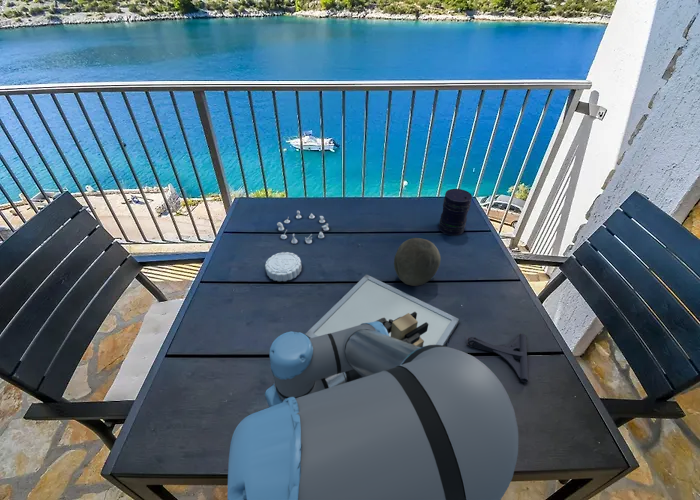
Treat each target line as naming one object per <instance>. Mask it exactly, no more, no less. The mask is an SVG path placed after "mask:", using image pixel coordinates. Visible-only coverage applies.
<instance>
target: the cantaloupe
mask: <svg viewBox="0 0 700 500" xmlns="http://www.w3.org/2000/svg"><path fill="white" fill-rule="evenodd" d="M441 259H442V258H441V253H440V251H439V249H438V248H437V246H436V245H435V243H433V242H432V241H431V240H429V239H425V238H422V237H421V238H420V237H412V238H409V239H407V240H404V241H403V242H402V243H400V244H399V246H398V248H397V250H396V252H395V255H394V259H393V267H394V270H395V274H396V275H397V277H398V279H399V280H400V281H401V282H402V283H403V284H405V285H407V286H411V287H417V286H418V287H419V286H422V285H424V284H426V283H428V282H429V281H431V280H432V279H433V277H434V276H435V275H436V274H437V272H438V270H439V268H440V265H441V261H442V260H441Z"/></svg>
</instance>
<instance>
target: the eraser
mask: <svg viewBox="0 0 700 500" xmlns="http://www.w3.org/2000/svg"><path fill="white" fill-rule="evenodd" d="M417 324H418V321H417V320H416V319H415V318H414V317H412V316H411V315H410V314H409V313H408V314H406V315H404V316H402V317H401V318H399V319H397V320H395V321H393V322H392V329H391V337H393V338H396V339H398V340H402V339H405V334H407V333H409V332H410V331H412V330H414V329H416V328H417ZM423 343H424V340H423V339H422V338H421V337H420V339H419V340H418V341H417V342H415V343H414V344H413V345H415V346H418V347H423Z"/></svg>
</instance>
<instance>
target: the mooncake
mask: <svg viewBox="0 0 700 500" xmlns="http://www.w3.org/2000/svg"><path fill="white" fill-rule="evenodd" d="M264 268H265V273H266V276H267V277H269V279H271V280H273V281H275V282H276V281H277V282H287V281H292V280H293V279H295V278H297V276H299V275H300V274H301V272H302V260H301V257H300V256H299V255H298V254H295V253H294V252H289V251H286V252H285V251H281V252H278V253H275V254H273V255H271V257H269V258H268V259H267V260H266V261H265V265H264Z"/></svg>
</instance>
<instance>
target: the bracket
mask: <svg viewBox="0 0 700 500" xmlns="http://www.w3.org/2000/svg"><path fill="white" fill-rule="evenodd" d="M467 344H468V346H470V347H471V348H475V349H479V350H482V351H486V352H490V353H493V354H497V355H498V356H499V357H501V358H503V359H504V360H505V361H506V362H507V363H508V364H509V365H510V366H511V367H512V369H513V370H514V372H515V373H516V375H517V378H518V379H520V382H521V383H529V372H528V371H529V370H528V350H527V349H528V348H527V346H528V345H527V335H526V334H525V333H520V334H519V335H518V336H517V337H516V338H515V339H514V340H513V341H511V342H510V343H507V344H502V345H498V344H492V343H489V342H488V341H487V342H486V341H484V340H482V339H480V338H477V337H476V336H470V337H468V339H467ZM518 350H519V351H518ZM516 360H519V362H518V361H516Z"/></svg>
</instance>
